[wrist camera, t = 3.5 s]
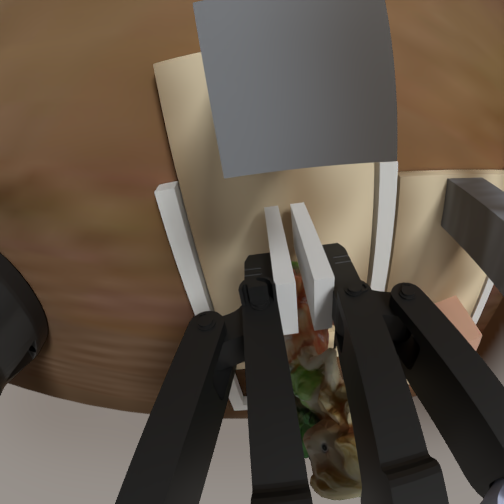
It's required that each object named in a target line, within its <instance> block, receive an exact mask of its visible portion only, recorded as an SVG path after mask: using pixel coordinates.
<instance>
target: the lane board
mask: <svg viewBox="0 0 504 504" xmlns="http://www.w3.org/2000/svg"><path fill="white" fill-rule="evenodd" d="M397 176H398V162H397V161H394V162H374V199H373V219H372V234H371V246H370V257H369V267H368V276H367V284H368V285H369V286H370V288H371V289H372V290H375V291H383V292H384V291H385V285H386V279H387V273H388V266H389V260H390V252H391V245H392V237H393V228H394V218H395V207H396V193H397ZM154 193H155V196H156V200H157V203H158V207H159V210H160V213H161V217H162V220H163V223H164V226H165V230H166V233H167V236H168V239H169V242H170V245H171V248H172V251H173V254H174V257H175V260H176V263H177V266H178V269H179V272H180V275H181V278H182V281H183V284H184V287H185V289H186V292H187V295H188V298H189V300H190V303H191V306H192V309H193V311H194V314H195V316H196V315H197V314H199V313H201V312H204V311H215V310H214V307H213V303H212V300H211V297H210V294H209V290H208V287H207V284H206V280H205V277H204V273H203V270H202V267H201V263H200V260H199V256H198V253H197V249H196V246H195V242H194V238H193V235H192V231H191V227H190V224H189V220H188V216H187V212H186V209H185V205H184V201H183V197H182V193H181V189H180V185H179V181H175V182H170V183H165V184H160V185H159V186H158V188H157V189H156V190H155V192H154ZM493 284H494V283H493V282H492V281H491V280H490V279H489V277H488V276H486V278H485V281H484V284H483V286H482V289H481V292H480V294H479V297H478V299H477V302H476V304H475V306H474V309H473V311H472V313H471V316H470V317H471V318H472V320H473V321H474V323H475V325H476V323H477V321H478V319H479V317H480V315H481V312H482V310H483V308H484V306H485V303H486V301H487V299H488V296H489V294H490V292H491V289H492V287H493ZM229 399H230V402H231V404H232V406H233V408H234V411H237V410H248V409H247V396H243V394H242V391H241V388H240V385H239V382H238V379H237V377H236V374H235V375H234V379H233V382H232V386H231V390H230V394H229Z"/></svg>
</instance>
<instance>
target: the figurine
mask: <svg viewBox="0 0 504 504" xmlns="http://www.w3.org/2000/svg"><path fill="white" fill-rule="evenodd" d="M291 264H292V268H293V273H294V278H295V282H296V297H297V313H298V332H299V333H295V334H288V335H284V340H285V345H286V351H287V357H288V363H289V368H290V374H291V380H292V386H293V392H294V398H295V404H296V410H297V416H298V422H299V428H300V434H301V440H302V446H303V452H304V458H308V457H309V459H310V461H311V466H312V471H313V475H312V476H311V480H310V485H311V486H312V488H313V489H314V491H315V492H316V493H318V494H319V495H320V496H321V497H324V498H328V499H331V500H344V499H350V498H355V497H361V492H362V483H361V476H360V469H359V462H358V455H357V449H356V443H355V437H354V431H353V425H352V420H351V414H350V409H349V404H348V399H347V393H346V388H345V383H344V380H342V378H341V377H340V372H339V368H338V365H337V351H336V350H335V349H333V348H328V343H329V332H328V329H322V330H316V331H314V327H313V323H312V319H311V314H310V310H309V306H308V302H307V297H306V293H305V289H304V285H303V281H302V277H301V273H300V269H299V265H298V261H291ZM332 325H334V323H333V321H332Z"/></svg>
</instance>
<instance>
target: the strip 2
mask: <svg viewBox="0 0 504 504" xmlns="http://www.w3.org/2000/svg"><path fill="white" fill-rule="evenodd" d="M486 276H488V277H489V279H490V280H491V281H492V282H493V283H494V285H495V286H496V287H497V288H498V290H499V291H500V292H501V293H502V295H503V296H504V170H428V171H405V172H398V176H397V193H396V207H395V218H394V228H393V237H392V245H391V252H390V260H389V266H388V273H387V279H386V285H385V291H384V292H391V290H392V288H393V287H394V286H395V285H396V284H398V283H403V282H405V283H411V284H414V285H416V286H417V287H419V288H420V289H421V290H422V291H423V292H424V293H425V294H426V295H427V296H428V297H429V298H430V299H431V301H432V302H433V303H434V304H435V303H437V302H440V301H442V300H445V299H447V298H450V297H452V296H455V295H456V296H457V298H458V299H459V300H460V302H461V303H462V305H463V306H464V308H465V309H466V311H467V312H468V314H469V315H470V316H471V313H472V311H473V309H474V306H475V304H476V302H477V299H478V297H479V294H480V292H481V289H482V286H483V284H484V281H485V278H486ZM406 380H407V379H406ZM407 383H408V384H409V382H408V381H407Z"/></svg>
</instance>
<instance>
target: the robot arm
mask: <svg viewBox="0 0 504 504" xmlns="http://www.w3.org/2000/svg"><path fill="white" fill-rule="evenodd" d="M290 208H291V219H292V231H293V243H294V249H295V253H296V257H297V261H298V265H299V269H300V273H301V277H302V281H303V285H304V289H305V293H306V297H307V302H308V306H309V310H310V314H311V319H312V323H313V327H314V331H316V330H322V329H329V328H332V321H333V323H334V326H335V335H334V348H333V349H336V346H337V351H338V355H339V360H340V364H341V369H342V374H343V379H344V383H345V388H346V393H347V399H348V404H349V409H350V414H351V420H352V425H353V431H354V437H355V443H356V449H357V455H358V462H359V469H360V476H361V483H362V492H361V504H449V502H448V497H447V492H446V487H445V482H444V478H443V474H442V470H441V467H440V464H439V463H438V462H437V460H435V459H434V458H432V457H430V455H429V454H428V451H427V447H426V443H425V440H424V436H423V432H422V429H421V425H420V422H419V419H418V415H417V412H416V408H415V405H414V402H413V399H412V396H411V392H410V389H409V386H408V383H407V381H408V382H409V384H410V386H411V387H412V389H413V390H414V392H415V393H416V395H417V396H418V398H419V400H420V401H421V403H422V404H423V406H424V407H425V409H426V410H427V412H428V414H429V415H430V417H431V419H432V420H433V422H434V423H435V425H436V427H437V428H438V430H439V432H440V434H441V435H442V437H443V439H444V440H445V442H446V444H447V445H448V447H449V449H450V450H451V452H452V454H453V456H454V457H455V459H456V461H457V463H458V464H459V466H460V468H461V470H462V472H463V473H464V475H465V477H466V478H467V480H468V482H469V483H470V485H471V486H472V487H473V488H474V489H475V490H476V492H477V493H478V494H479V495H480V496H482V497H483V498H484V499H483V501H482V502H481V503H480V504H504V387H503V385H502V384H501V382H500V381H499V380H498V378H497V377H496V376H495V375H494V373H493V372H492V371H491V369H490V368H489V367H488V366H487V364H486V363H485V362H484V361H483V359H482V358H481V357H480V356H479V354H478V353H477V352H476V351H475V349H474V348H473V347H472V346H471V345H470V343H469V342H468V341H467V340H466V339H465V337H464V336H463V335H462V334H461V333H460V332H459V330H458V329H457V328H456V327H455V326H454V325H453V324H452V323H451V321H450V320H449V319H448V318H447V317H446V316H445V315H444V314H443V312H442V311H441V310H440V309H439V308H438V307H437V306H436V305H435V304H434V303H433V302H432V301H431V299H430V298H429V297H428V296H427V295H426V294H425V293H424V292H423V291H422V290H421V289H420V288H419V287H417V286H416V285H414V284H411V283H405V282H403V283H398V284H396V285H395V286H394V287H393V288H392V290H391V292H383V291H375V290H372V289H371V288H370V286H369V285H368V284H367V283H365V282H364V281H361V280H360V277H359V275H358V273H357V271H356V269H355V267H354V265H353V263H352V262H351V259H350V257H349V256H348V253H347V251H346V249H345V248H344V247H343V246H342V245H340V244H339V243H332V244H324V245H322V244H321V242H320V239H319V237H318V234H317V232H316V229H315V227H314V225H313V222H312V220H311V218H310V215H309V213H308V211H307V208H306V206H305V204H304V202H302V203H294V204H290ZM264 211H265V218H266V226H267V233H268V241H269V248H270V252H269V253H261V254H254V255H249V256H248V257H247V259H246V260H245V262H244V270H245V271H244V276H245V277H244V280H243V281H242V283H241V284H240V285H239V289H238V291H239V295H240V299H241V304H242V305H241V306H240V308H239V309H237V310H236V311H234V312H232V313H230V314H227V315H224V316H222V315H221V314H219V313H218V312H215V311H204V312H201V313H199V314H197V315H196V316H194V317H193V318H192V319H191V321H190V322H189V325H188V327H187V329H186V331H185V334H184V336H183V338H182V341H181V343H180V345H179V347H178V350H177V352H176V354H175V357H174V359H173V361H172V364H171V366H170V368H169V371H168V373H167V375H166V378H165V380H164V382H163V385H162V387H161V389H160V392H159V394H158V397H157V399H156V401H155V404H154V406H153V409H152V411H151V414H150V416H149V418H148V421H147V423H146V426H145V428H144V431H143V433H142V436H141V438H140V441H139V443H138V446H137V448H136V451H135V453H134V456H133V458H132V461H131V463H130V466H129V469H128V471H127V474H126V477H125V479H124V481H123V484H122V487H121V489H120V492H119V495H118V497H117V500H116V503H115V504H199V501H200V498H201V494H202V490H203V487H204V484H205V480H206V477H207V473H208V470H209V466H210V462H211V459H212V455H213V452H214V448H215V445H216V441H217V437H218V434H219V430H220V426H221V423H222V419H223V416H224V412H225V408H226V405H227V401H228V397H229V394H230V390H231V386H232V382H233V379H234V375H235V371H236V367H237V364H240V363H242V362H245V374H246V392H247V409H248V426H249V442H250V458H251V473H252V488H253V491H252V497H251V504H313V503H312V497H311V492H310V489H309V484H308V479H307V472H306V465H305V459H304V452H303V446H302V440H301V434H300V428H299V422H298V416H297V410H296V404H295V398H294V392H293V386H292V380H291V374H290V368H289V363H288V357H287V351H286V345H285V340H284V335H288V334H295V333H299V332H298V313H297V297H296V282H295V278H294V273H293V268H292V264H291V259H290V255H289V251H288V246H287V242H286V237H285V233H284V229H283V225H282V220H281V216H280V212H279V208H278V206H270V207H264ZM47 334H48V327H47V321H46V318H45V315H44V312H43V310H42V307H41V305H40V303H39V301H38V300H37V298H36V296H35V294H34V293H33V291H32V290H31V288H30V287H29V285H28V284H27V282H26V281H25V280H24V278H23V277H22V276H21V275H20V273H19V272H18V271H17V270H16V269H15V268H14V266H13V265H12V264H11V263H10V262H9V261H8V260H7V259H6V258H5V257H4V256H3V255H2V254H0V395H1V393H2V391H3V389H4V387H5V385H6V384H7V383H8V382H9V381H10V380H11V379H13V378H14V377H15V376H16V375H17V374H18V373H19V372H20V371H21V370H22V369H23V368H24V367H25V366H26V365H27V364H29V363H30V362H31V361H32V360H33V359H34V358H35V357H36V356H37V355H38V353H39V352H40V350H41V348H42V346H43V344H44V342H45V340H46V338H47ZM406 379H407V380H406Z"/></svg>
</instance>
